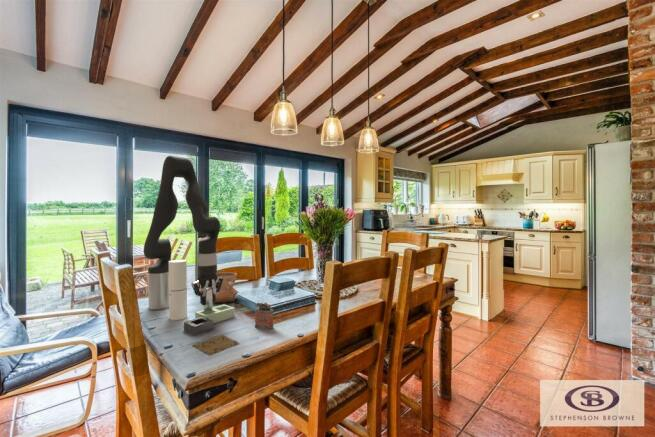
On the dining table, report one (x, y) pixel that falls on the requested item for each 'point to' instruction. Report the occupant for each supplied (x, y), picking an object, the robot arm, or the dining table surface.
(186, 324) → the block
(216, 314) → the rack
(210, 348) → the tan flat square slab
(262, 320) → the lighter
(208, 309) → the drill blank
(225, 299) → the ceramic jug
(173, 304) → the cylindrical container
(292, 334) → the dining table surface
